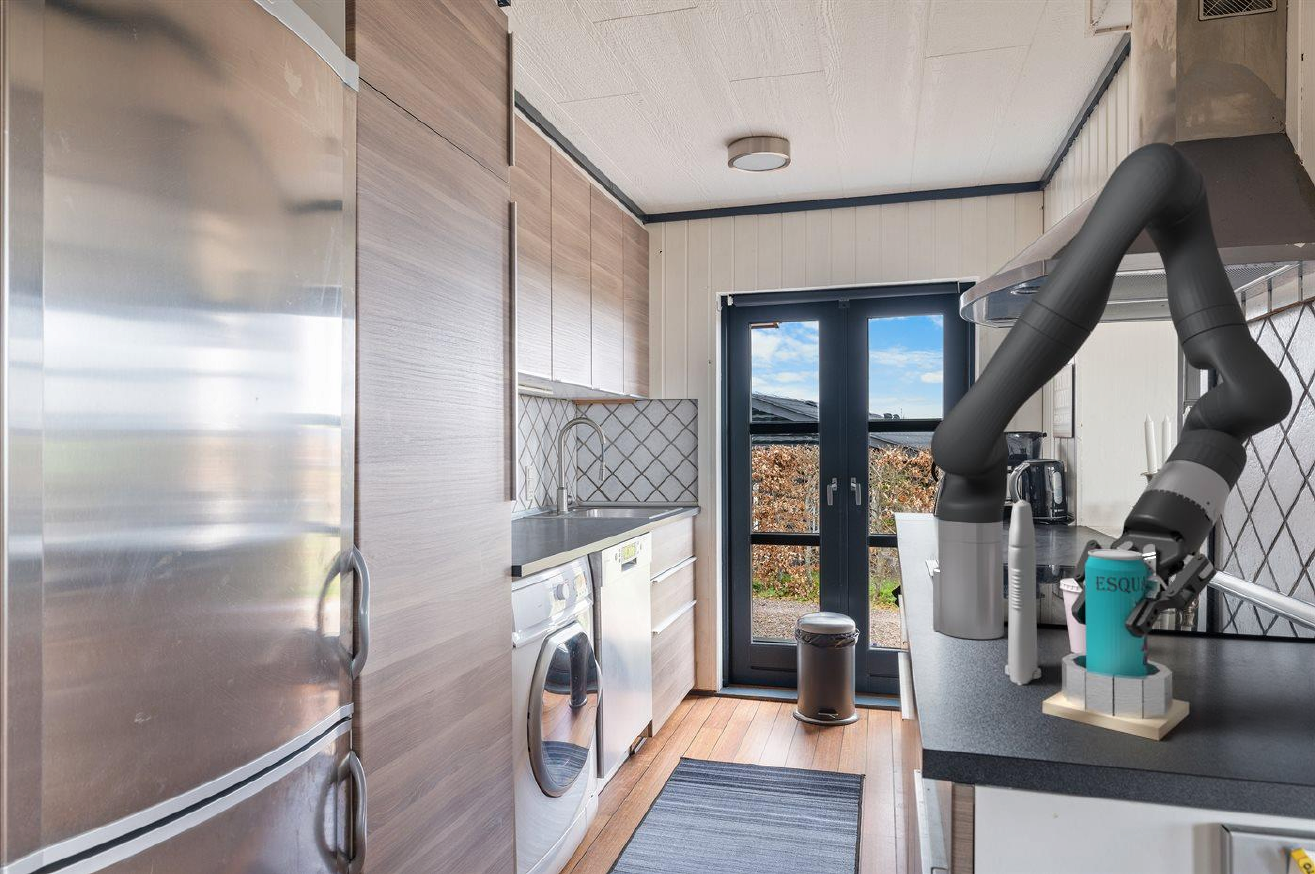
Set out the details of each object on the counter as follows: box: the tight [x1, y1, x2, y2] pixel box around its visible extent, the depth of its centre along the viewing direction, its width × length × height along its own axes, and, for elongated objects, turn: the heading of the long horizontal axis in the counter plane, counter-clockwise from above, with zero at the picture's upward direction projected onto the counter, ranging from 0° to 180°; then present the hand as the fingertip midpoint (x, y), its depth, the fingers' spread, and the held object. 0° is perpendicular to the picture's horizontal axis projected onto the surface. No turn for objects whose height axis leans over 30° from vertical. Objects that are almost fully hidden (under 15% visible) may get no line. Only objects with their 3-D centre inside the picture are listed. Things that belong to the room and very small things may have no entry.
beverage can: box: [1085, 549, 1148, 677], centre depth 86 cm, size 6×6×15 cm
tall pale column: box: [1004, 499, 1042, 686], centre depth 100 cm, size 11×4×22 cm, turn 149°
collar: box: [1061, 652, 1173, 719], centre depth 86 cm, size 10×10×4 cm
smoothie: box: [1059, 577, 1086, 654], centre depth 110 cm, size 6×6×14 cm
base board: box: [1042, 690, 1190, 741], centre depth 86 cm, size 11×11×1 cm
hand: (1104, 625), depth 85 cm, fingers closed on beverage can, 5 cm apart
